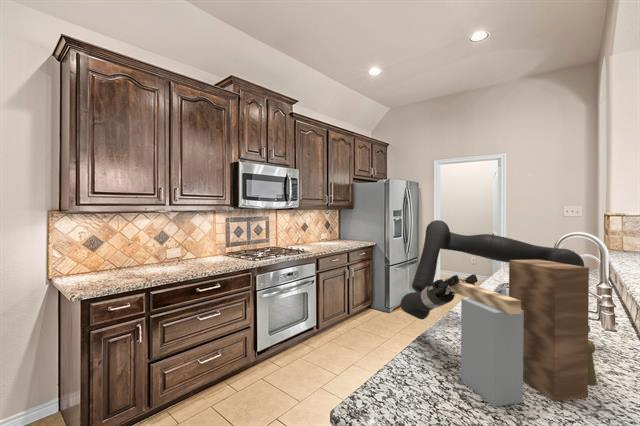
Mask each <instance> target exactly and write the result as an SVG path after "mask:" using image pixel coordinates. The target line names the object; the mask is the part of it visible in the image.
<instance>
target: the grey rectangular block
mask: <svg viewBox="0 0 640 426" xmlns="http://www.w3.org/2000/svg"><path fill="white" fill-rule="evenodd" d="M460 301H461V307H460V309H461V310H460V311H461V313H460V316H461V317H460V318H461V319H460V320H461V321H460V381H462V382H463V383H464V384H465V385H467V386H468V387H469V388H470V389H471V390H472V391H474V392H475V393H476V394H478V395H479V396H480V397H481V398H483V399H484V400H485V401H486V402H487V403H488V404H490V405H492V407H493V408H494V407H495V408H496V407H501V406H502V407H503V406H509V405H517V404H522V403H523V402H524V394H523V393H524V382H523V325H524V311H523V310H521V314H508V313H505V312H503V311H500V310H498V309H495V308H493V307H490V306H488V305H485V304H483V303H480V302H478V301H475V300H472V299H470V298H467V297H465V298H461V300H460Z"/></svg>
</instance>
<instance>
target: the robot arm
mask: <svg viewBox="0 0 640 426" xmlns="http://www.w3.org/2000/svg"><path fill="white" fill-rule="evenodd" d="M450 231H451V230H450V228H449V225H448V224H447V223H446V222H445V221H443V220H433V221H431V222H429V223H428V225H426V229H425V236H424V243H423V246H422V247H423V248H422V252H421V256H420V259H419V263H418V266H417V268H416V272H415V275H414V277H413V280H412V284H411V288H412V289H413V290H414V291H413V292H409V293H406V294H404V296H403V297H402V298H401V300H400V304H399V306H400V308H401V311H403V312H404V313H406V314H408V315H410V316H412V317H415V318H417V319H419V320H425V319H427V318H428V317H429V315H430V311H432V310H434V309H437V308H440V307H443V306H444V305H446V304H449V303H451V302H452V301H453V300H454V299H455V296H456V295H457V293H455V292H452V291H451V289H450V288H451V286H454V285H456V284H457V283H459V280H460V281H463V282H466V283H469V284H472V285H475V286H476V283H478V281H479V280H478V278H477V275H476V274H471V275H468V276H467V277H465V278H462V279H461V278H459V276H458V274H454V275H452V276H451V277H449V278H445V279H437V280H435V277H436V274H437V273H436V272H437V265H438V259H439V255H440V251H441V250H448V251H455V252H460V253H465V254H469V255H472V256H476V257H481V258H484V259H489V260H493V261H496V262H502V263H508V264H509V260H531V259H540V260H546V261H552V262H558V263H564V264H570V265H576V266H582V267H585V261H584V260H583V258H582V257H581V255H580V254H578V253H576V252H575V251H573V250H572V249H567V248H558V247H549V246H542V245H541V246H540V245H535V244H531V243H527V242H525V241H521V240H517V239H513V238H509V237H505V236H500V235H495V234H490V233H489V234H488V233H485V234H484V233H480V234H473V235H465V234H458V233H454V232H452V231H451V232H450ZM434 280H435V281H434Z"/></svg>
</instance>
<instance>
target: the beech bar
mask: <svg viewBox="0 0 640 426" xmlns="http://www.w3.org/2000/svg"><path fill="white" fill-rule="evenodd" d="M450 289H451V291H452V292H455V293H457V294H458V295H460V296H462V297H464V298H470V299H472V300H475V301H478V302H480V303H483V304H485V305H488V306H490V307H493V308H495V309H498V310H500V311H503V312H505V313H508V314H521V300H518V299H515V298H512V297H509V295H508V296H507V295H505V294H502V293H499V292H496V291H493V290H489V289H487V288H484V287H481V286H477V285H476V284H475V285H472V284H469V283H466V282H463V281H460V280H459V283H457V284H456V285H454V286H451V288H450ZM457 294H456V295H457Z"/></svg>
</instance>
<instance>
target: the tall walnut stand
mask: <svg viewBox="0 0 640 426" xmlns="http://www.w3.org/2000/svg"><path fill="white" fill-rule="evenodd" d="M589 286H590V267H586V266H584V267H582V266H576V265H570V264H564V263H558V262H552V261H546V260H540V259H531V260H509V263H508V296H509V297H512V298H515V299H518V300H521V310H523V311H524V325H523V384H527V385H528V386H529V387H530V388H533V389H534V390H535V391H537V392H539V393H540V394H542V395H544V396H545V397H547V398H548V399H549V400H552V401H553V402H560V401H567V400H574V399H575V400H576V399H580V398H588V396H589V394H588V393H589V391H588V390H589V385H588V340H589V312H590V311H589V300H590V299H589V297H590V295H589V293H590V291H589V289H590V287H589Z"/></svg>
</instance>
